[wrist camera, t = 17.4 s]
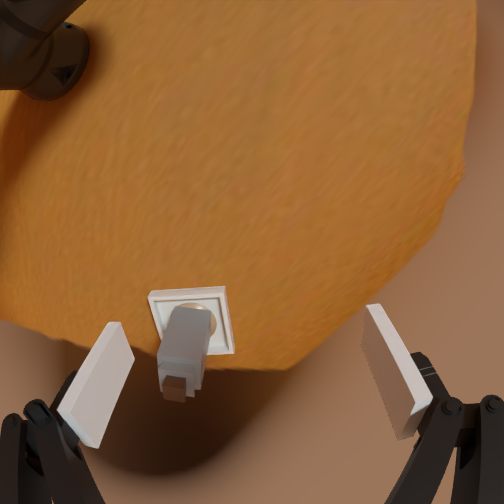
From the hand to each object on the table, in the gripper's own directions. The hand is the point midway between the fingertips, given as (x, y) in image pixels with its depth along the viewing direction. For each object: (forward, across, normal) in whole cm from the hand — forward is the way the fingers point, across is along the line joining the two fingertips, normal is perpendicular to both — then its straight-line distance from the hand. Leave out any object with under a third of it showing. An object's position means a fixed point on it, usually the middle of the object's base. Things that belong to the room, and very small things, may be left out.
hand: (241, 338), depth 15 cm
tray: (+35, -13, -23) cm, 44 cm away
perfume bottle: (+34, -13, -23) cm, 43 cm away
